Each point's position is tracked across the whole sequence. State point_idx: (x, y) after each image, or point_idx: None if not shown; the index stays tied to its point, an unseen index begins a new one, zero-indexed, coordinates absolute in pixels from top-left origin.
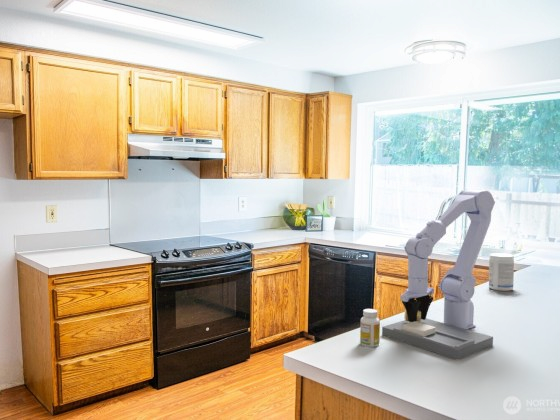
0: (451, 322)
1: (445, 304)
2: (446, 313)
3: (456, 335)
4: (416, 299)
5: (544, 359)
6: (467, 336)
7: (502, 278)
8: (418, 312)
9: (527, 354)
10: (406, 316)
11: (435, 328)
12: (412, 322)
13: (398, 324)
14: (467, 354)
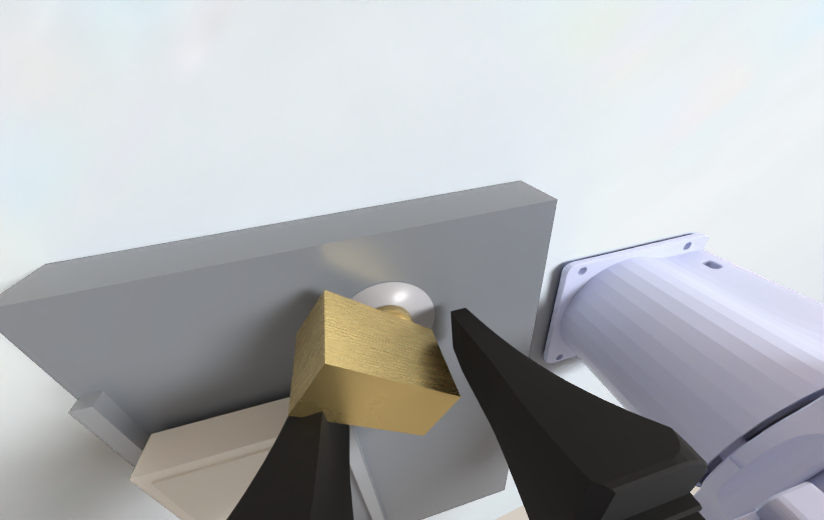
0: (578, 347)
1: (695, 397)
2: (625, 357)
3: (410, 480)
4: (556, 451)
5: (489, 514)
6: (436, 488)
7: None
8: (402, 427)
9: (492, 497)
10: (298, 367)
11: None
12: (264, 443)
13: (223, 305)
14: None
